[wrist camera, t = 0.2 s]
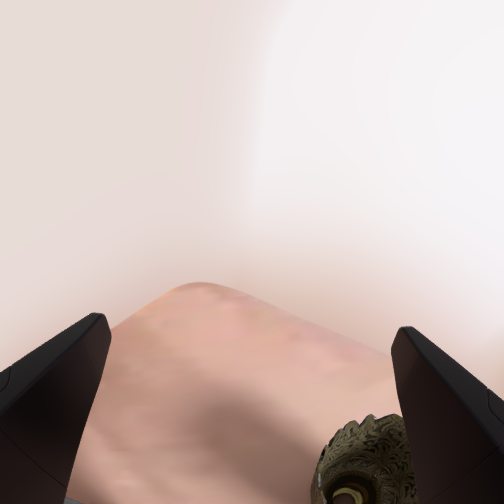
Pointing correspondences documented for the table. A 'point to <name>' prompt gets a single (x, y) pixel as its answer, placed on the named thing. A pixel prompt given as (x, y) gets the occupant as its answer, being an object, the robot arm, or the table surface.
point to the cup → (367, 464)
